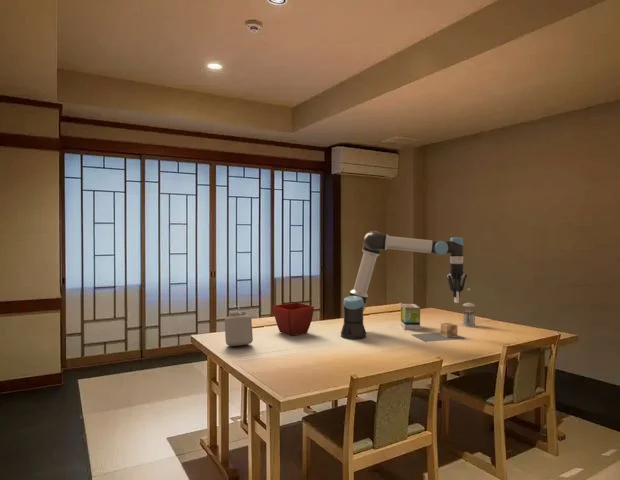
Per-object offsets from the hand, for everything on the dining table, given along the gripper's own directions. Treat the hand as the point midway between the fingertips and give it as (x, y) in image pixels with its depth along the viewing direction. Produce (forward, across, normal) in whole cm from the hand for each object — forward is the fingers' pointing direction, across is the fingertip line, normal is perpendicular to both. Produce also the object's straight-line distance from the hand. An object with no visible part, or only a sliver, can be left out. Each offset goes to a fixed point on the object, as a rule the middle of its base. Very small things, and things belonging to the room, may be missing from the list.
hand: (456, 302), depth 270 cm
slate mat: (+20, -12, 0) cm, 24 cm away
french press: (+21, +24, +23) cm, 39 cm away
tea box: (+20, -16, +28) cm, 38 cm away
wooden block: (+20, -5, 0) cm, 20 cm away
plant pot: (+20, -93, +33) cm, 101 cm away
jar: (+20, -129, +11) cm, 131 cm away
